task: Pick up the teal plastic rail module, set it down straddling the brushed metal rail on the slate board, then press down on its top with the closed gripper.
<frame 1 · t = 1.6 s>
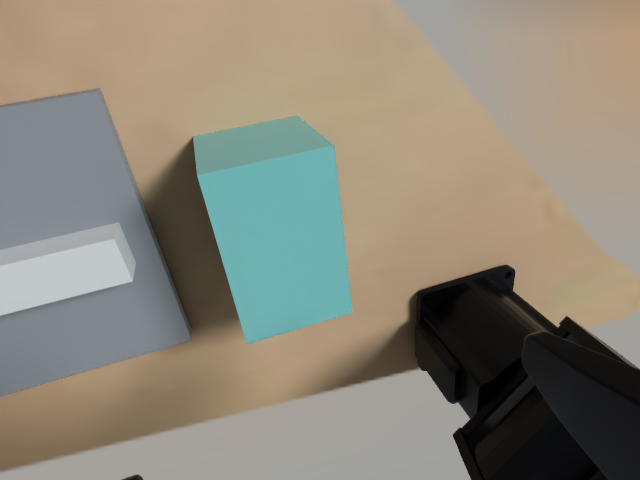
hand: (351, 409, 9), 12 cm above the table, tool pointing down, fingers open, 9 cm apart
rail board: (18, 261, 17), on the table
rail module: (263, 202, 19), on the table
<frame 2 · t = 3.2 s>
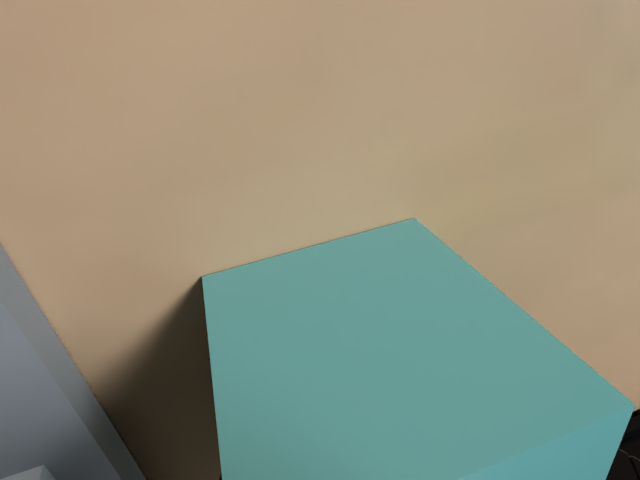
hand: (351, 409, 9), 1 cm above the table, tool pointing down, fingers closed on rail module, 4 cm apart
rail module: (333, 369, 10), on the table, touching gripper
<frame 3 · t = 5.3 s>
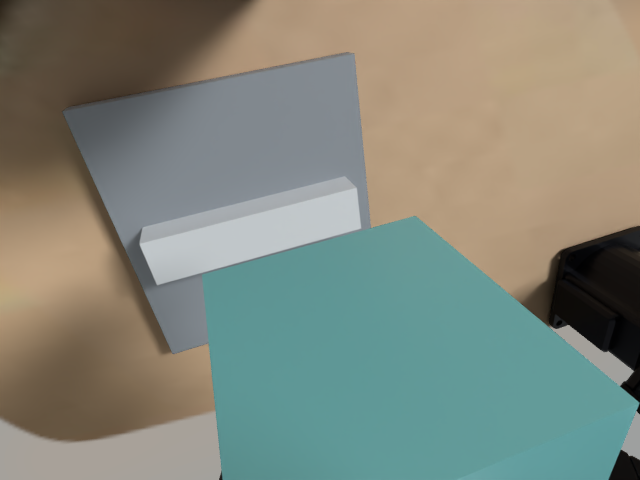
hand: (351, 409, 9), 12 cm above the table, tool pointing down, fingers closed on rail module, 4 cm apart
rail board: (250, 213, 19), on the table
rail module: (334, 368, 10), point 11 cm above the table, touching gripper
when the fingers open (3 cm above the table, at t = 7.3 s): rail module drops 1 cm, resting on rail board.
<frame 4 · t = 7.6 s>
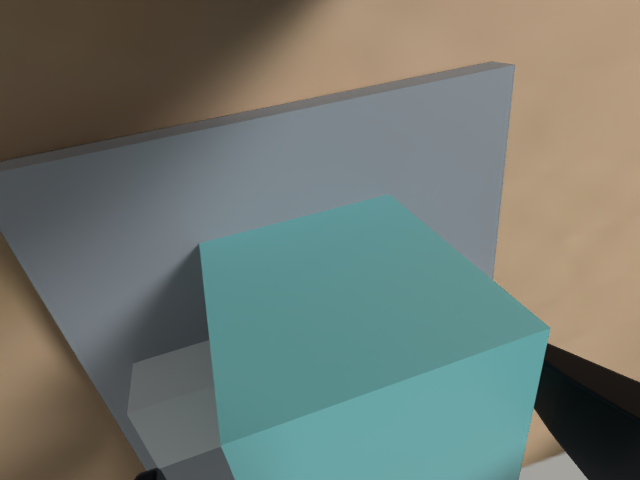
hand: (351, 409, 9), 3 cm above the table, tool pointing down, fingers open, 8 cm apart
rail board: (309, 318, 12), on the table
rail module: (319, 334, 11), point 1 cm above the table, touching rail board
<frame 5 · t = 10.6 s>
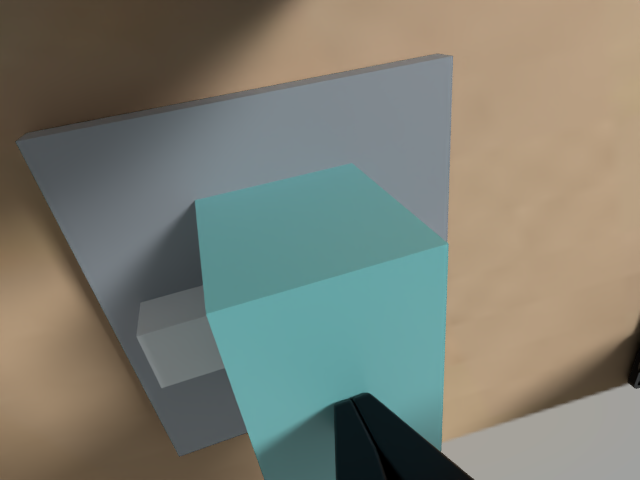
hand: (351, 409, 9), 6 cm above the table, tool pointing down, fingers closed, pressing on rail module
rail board: (289, 273, 14), on the table
rail module: (296, 284, 13), point 1 cm above the table, touching gripper, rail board
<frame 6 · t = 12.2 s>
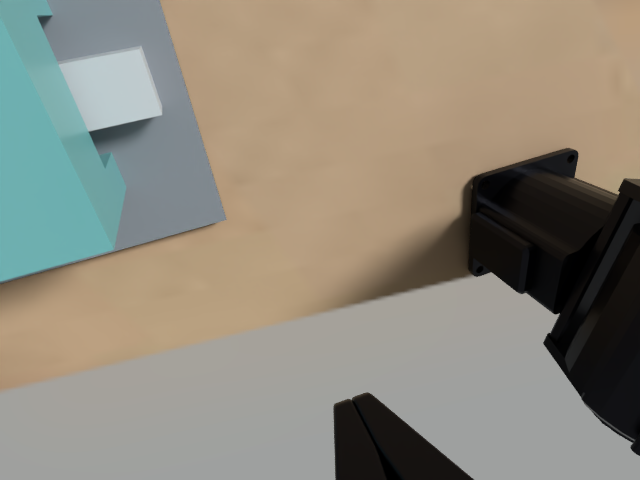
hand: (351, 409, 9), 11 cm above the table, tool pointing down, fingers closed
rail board: (17, 101, 14), on the table
rail module: (11, 103, 13), point 1 cm above the table, touching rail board
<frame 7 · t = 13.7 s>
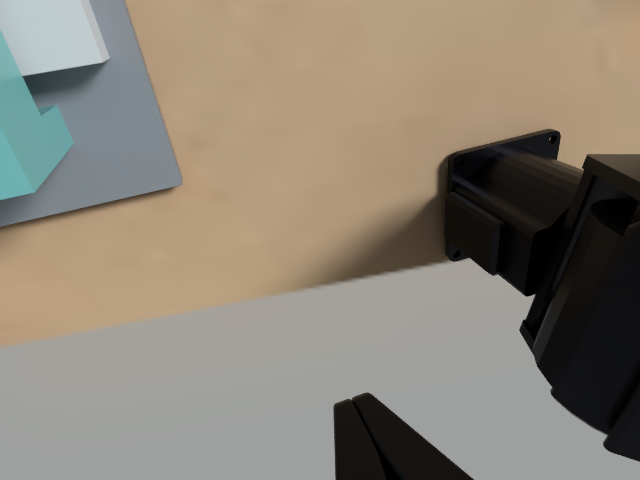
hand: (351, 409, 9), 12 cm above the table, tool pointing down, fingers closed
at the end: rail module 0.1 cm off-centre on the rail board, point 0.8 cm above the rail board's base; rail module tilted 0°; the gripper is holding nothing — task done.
